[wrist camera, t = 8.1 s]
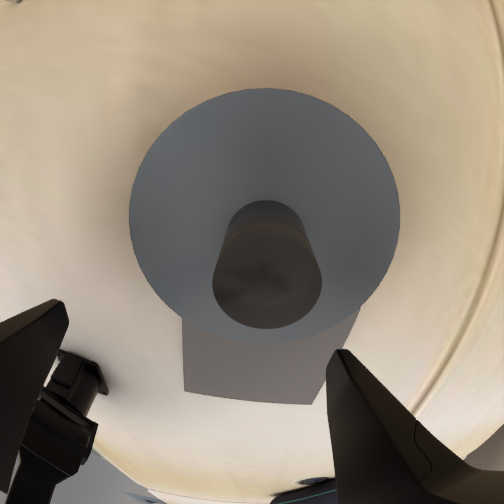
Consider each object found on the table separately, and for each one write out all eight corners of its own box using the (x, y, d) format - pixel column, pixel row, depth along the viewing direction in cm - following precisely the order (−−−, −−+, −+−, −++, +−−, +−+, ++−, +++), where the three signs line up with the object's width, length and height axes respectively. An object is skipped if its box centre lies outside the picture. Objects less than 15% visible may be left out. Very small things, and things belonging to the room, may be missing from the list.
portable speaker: (290, 497, 53) (290, 524, 44) (264, 494, 51) (263, 523, 42) (364, 474, 44) (369, 506, 35) (341, 472, 42) (345, 509, 33)
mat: (310, 400, 27) (311, 404, 27) (185, 386, 27) (184, 391, 26) (358, 304, 21) (360, 308, 20) (184, 281, 21) (182, 285, 20)
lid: (348, 340, 16) (367, 402, 12) (143, 313, 16) (112, 373, 11) (416, 130, 11) (483, 142, 6) (146, 83, 10) (85, 68, 6)
